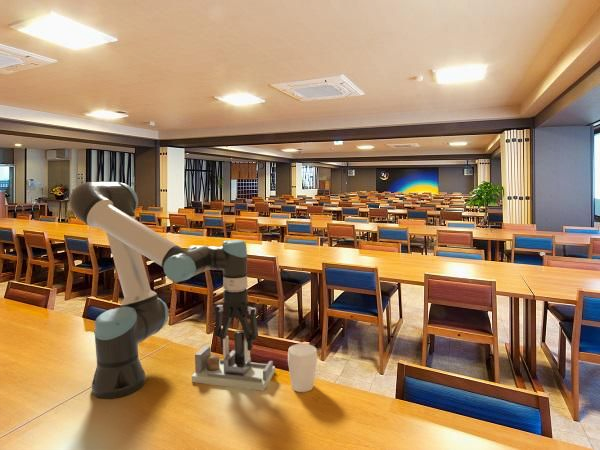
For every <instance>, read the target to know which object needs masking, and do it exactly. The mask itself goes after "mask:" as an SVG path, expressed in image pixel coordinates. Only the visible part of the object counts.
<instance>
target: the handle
mask: <svg viewBox="0 0 600 450" xmlns="http://www.w3.org/2000/svg"><path fill="white" fill-rule="evenodd" d="M233 335H234V337H233V338H234V349H232V350H231V351H229V354H228V355H227V356H226V357H225V359H224V374H231V375H239V376H244V375H245V374H246V373H247V371H248V370H249V369H250V367H251V362H252V357H250V358H249V359H248V361H245V340H246V338H245V333H244V330H243V329H242V330H241V329H239V330H235V331H234V332H233Z"/></svg>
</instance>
